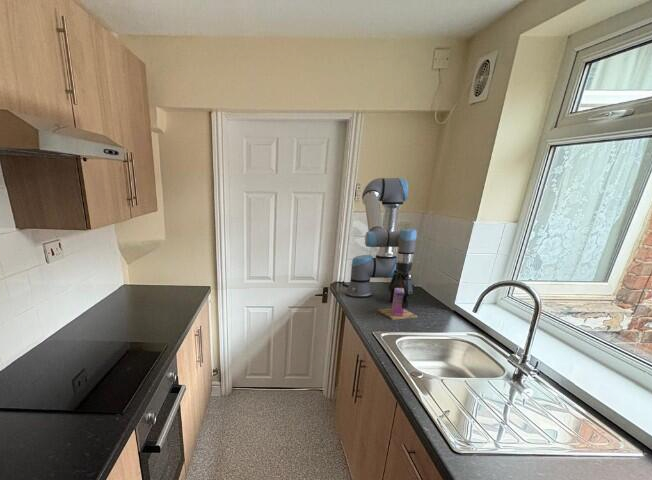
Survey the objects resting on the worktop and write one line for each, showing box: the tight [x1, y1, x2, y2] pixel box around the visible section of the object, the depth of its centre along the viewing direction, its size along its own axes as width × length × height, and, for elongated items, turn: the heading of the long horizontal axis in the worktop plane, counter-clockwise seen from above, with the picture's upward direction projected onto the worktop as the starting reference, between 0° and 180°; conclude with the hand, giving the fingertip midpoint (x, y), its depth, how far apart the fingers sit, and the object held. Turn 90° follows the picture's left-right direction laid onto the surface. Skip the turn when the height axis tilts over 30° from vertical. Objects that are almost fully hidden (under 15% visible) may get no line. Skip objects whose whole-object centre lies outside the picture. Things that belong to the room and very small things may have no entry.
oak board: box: [377, 307, 419, 321], centre depth 218 cm, size 16×14×1 cm
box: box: [391, 288, 405, 316], centre depth 215 cm, size 10×6×12 cm, turn 163°
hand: (398, 304), depth 216 cm, fingers open, 12 cm apart
